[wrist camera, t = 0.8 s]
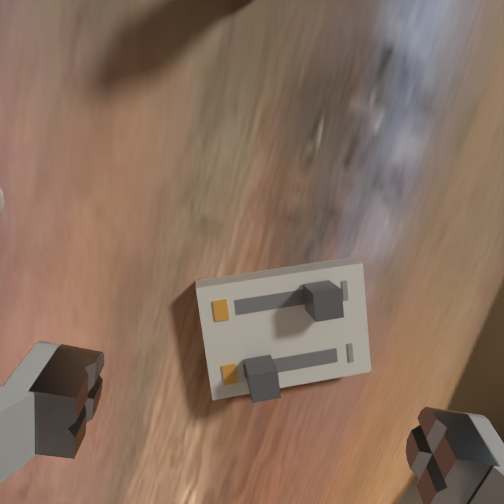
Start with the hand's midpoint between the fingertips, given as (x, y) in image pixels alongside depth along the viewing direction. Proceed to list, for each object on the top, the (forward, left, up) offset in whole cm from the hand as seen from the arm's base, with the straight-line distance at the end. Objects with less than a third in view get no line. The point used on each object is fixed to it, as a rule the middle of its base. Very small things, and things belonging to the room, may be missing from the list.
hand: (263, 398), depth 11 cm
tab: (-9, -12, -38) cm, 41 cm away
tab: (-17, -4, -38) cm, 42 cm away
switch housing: (-13, -8, -42) cm, 45 cm away
